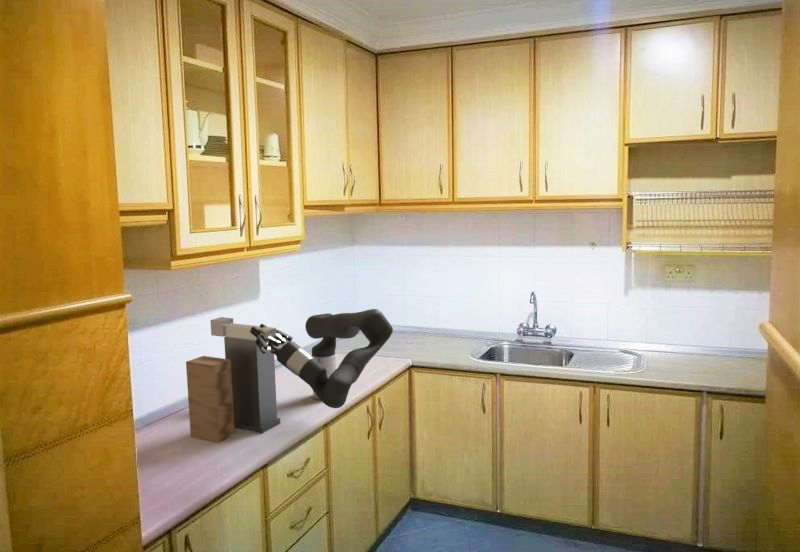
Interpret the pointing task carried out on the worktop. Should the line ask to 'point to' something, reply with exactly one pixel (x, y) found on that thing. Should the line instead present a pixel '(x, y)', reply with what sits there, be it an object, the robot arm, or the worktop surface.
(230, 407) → the block
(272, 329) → the lever
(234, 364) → the tall dark grey pillar
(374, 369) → the worktop surface
